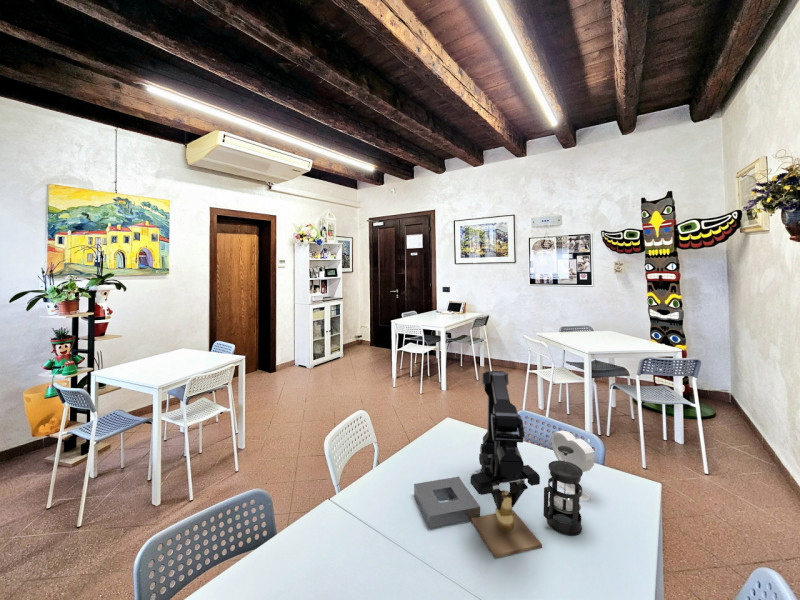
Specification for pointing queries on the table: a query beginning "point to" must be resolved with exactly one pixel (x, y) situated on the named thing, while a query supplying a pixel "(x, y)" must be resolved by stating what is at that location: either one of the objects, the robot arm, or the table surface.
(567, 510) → the french press
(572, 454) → the heart sculpture
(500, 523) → the knob
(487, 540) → the board
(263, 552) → the table surface
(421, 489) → the plate
